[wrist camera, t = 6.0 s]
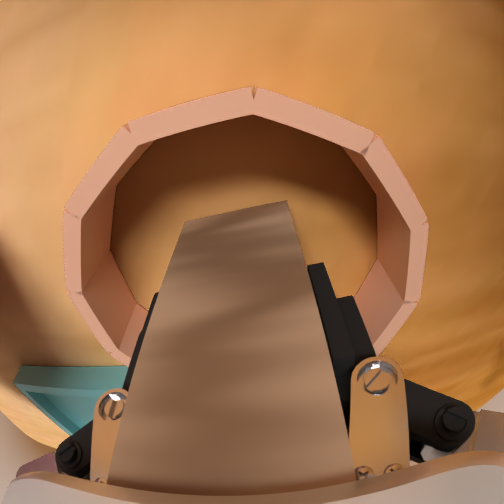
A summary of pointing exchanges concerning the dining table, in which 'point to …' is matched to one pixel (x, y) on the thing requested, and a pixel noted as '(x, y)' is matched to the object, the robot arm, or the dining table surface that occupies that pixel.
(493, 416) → the robot arm
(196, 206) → the dining table surface
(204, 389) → the wooden block
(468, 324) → the dining table surface
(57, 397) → the tray
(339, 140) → the ring
